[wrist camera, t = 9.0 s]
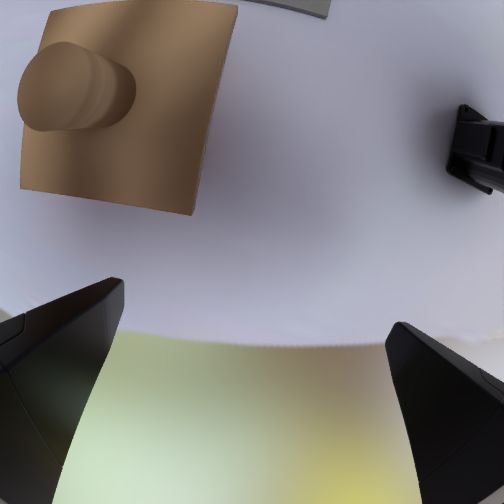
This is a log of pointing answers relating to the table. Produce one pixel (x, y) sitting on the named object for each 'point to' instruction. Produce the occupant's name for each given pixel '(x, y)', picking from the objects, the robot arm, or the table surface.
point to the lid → (124, 101)
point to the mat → (302, 6)
